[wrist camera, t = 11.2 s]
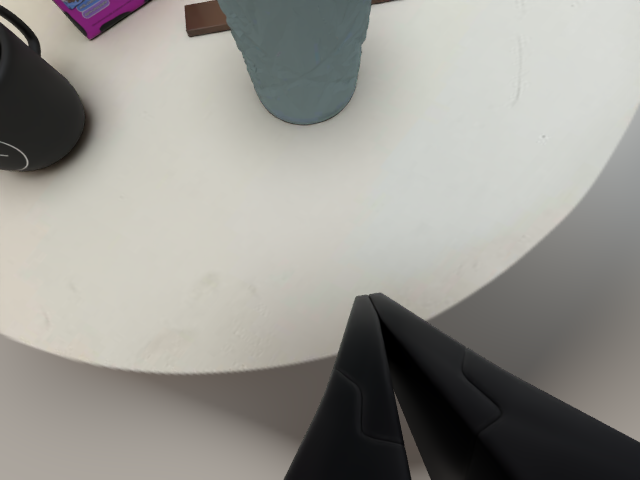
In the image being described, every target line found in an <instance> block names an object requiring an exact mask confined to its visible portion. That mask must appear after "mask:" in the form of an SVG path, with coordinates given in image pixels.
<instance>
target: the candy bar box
mask: <svg viewBox="0 0 640 480" xmlns="http://www.w3.org/2000/svg"><path fill="white" fill-rule="evenodd" d="M52 1H53V2H54V3H55V4H56V5H57V6H58V7H59V8H60V9H61V10H62V11H63V13H64V14H65V15H66V16H67V17H68V18H69V19H70V21H71V22H72V23H73V24H74V25H75V26H76V27H77V28H78V29H79V30H80V31H81V32H82V33H83V34H84V35H85V36H86V37H87V38H88V39H92V38H94V37H96V36H97V35H99V34H100V33H102V32H103V31H105V30H106V29H108V28H109V27H111V26H112V25H114V24H115V23H117V22H118V21H120V20H121V19H123V18H124V17H126V16H127V15H128V14H130V13H132V12H133V11H135V10H136V9H137V8H139V7H140V6H142V5H143V4H145V3H146V2H148V1H149V0H52Z"/></svg>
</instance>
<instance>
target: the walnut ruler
mask: <svg viewBox="0 0 640 480" xmlns="http://www.w3.org/2000/svg"><path fill="white" fill-rule="evenodd" d="M386 1H392V0H371V4H375V3H381V2H386ZM185 18H186V31H187V33H188V35H189V37H191V36H196V35H202V34H208V33H213V32H219V31H224V30H230V29H231V28H230V27H229V26H228V24H227V22H226V18H227V17H226V15H225V14H224V13H223V12H222V10H221V8H220V6H219V3H218V1H217V0H213V1H207V2H202V3H196V4H191V5H185Z"/></svg>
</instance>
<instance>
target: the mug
mask: <svg viewBox="0 0 640 480" xmlns="http://www.w3.org/2000/svg"><path fill="white" fill-rule="evenodd" d="M0 16H2V17H3V18H5V19H6V20H8V21H9V22H10V23H12V24H13V25H14V26H15V27H16V28H17V29H18V30H19V31H20V32H21V33H22V34H23V35H24V36H25V38H26V39H27V41H28V45H29V46H27V45H26V44H25V43H24V42H23V41H22V40H21V39H19V38H18V37H17V36H16V35H15V34H14V33H13V32H11V31H10V30H9V29H8V28H7V27H5V26H4V25H3V24H2V23H1V22H0V169H2V170H9V171H32V170H37V169H41V168H44V167H47V166H49V165H51V164H53V163H55V162H57V161H58V160H60V159H61V158H63V157H64V156H65V155H66V154H67V153H68V152H69V151H70V150H71V149H72V148H73V147H74V146H75V144H76V143H77V141H78V139H79V138H80V136H81V133H82V131H83V127H84V121H85V115H84V109H83V105H82V103H81V100H80V98H79V96H78V94H77V92H76V91H75V89H74V87H73V86H72V85H71V84H70V83H69V81H68V80H67V79H66V78H65V77H63V76H62V75H61V74H60V73H59V72H58V71H56V70H55V69H54V68H53V67H52V66H51V65H49V64H48V63H47V62H46V61H45V60H44V59H43V58H41V49H40V43H39V40H38V38H37V37H36V35H35V34H34V32H33V31H32V30H31V29H30V28H29V27H28V26H27V25H26V24H25V23H24V22H23V21H22V20H21V19H20V18H18V17H17V16H16V15H15V14H13V13H12V12H11V11H9V10H8V9H6V8H4V7H3V6H1V5H0Z"/></svg>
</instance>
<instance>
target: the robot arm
mask: <svg viewBox="0 0 640 480" xmlns="http://www.w3.org/2000/svg"><path fill="white" fill-rule="evenodd" d="M393 389H394V390H393ZM394 392H395V394H396V396H397V399H398V401H399V404H400V406H401V408H402V411H403V413H404V416H405V418H406V421H407V423H408V425H409V428H410V430H411V433H412V435H413V437H414V440H415V442H416V445H417V447H418V449H419V452H420V454H421V457H422V459H423V462H424V464H425V466H426V468H427V471H428V474H429V476H430V478H431V480H640V442H638V441H636V440H634V439H632V438H630V437H629V436H627V435H625V434H623V433H621V432H619V431H617V430H615V429H614V428H611V427H610V426H608V425H606V424H604V423H602V422H600V421H598V420H596V419H595V418H593V417H591V416H589V415H587V414H585V413H583V412H582V411H580V410H578V409H576V408H574V407H572V406H570V405H568V404H566V403H565V402H563V401H561V400H559V399H557V398H555V397H553V396H552V395H549V394H548V393H546V392H544V391H542V390H540V389H538V388H537V387H535V386H533V385H531V384H529V383H527V382H525V381H523V380H521V379H520V378H518V377H516V376H514V375H513V374H510V373H509V372H507V371H505V370H504V369H501V368H500V367H498V366H497V365H495V364H493V363H492V362H490V361H488V360H486V359H485V358H483V357H482V356H480V355H479V354H477V353H475V352H474V351H472V350H471V349H469V348H466V347H465V346H464V345H462V344H460V343H459V342H457V341H456V340H454V339H453V338H451V337H450V336H448V335H447V334H445V333H443V332H442V331H440V330H439V329H437V328H435V327H434V326H432V325H431V324H429V323H428V322H426V321H425V320H423V319H422V318H420V317H418V316H417V315H415V314H414V313H412V312H411V311H409V310H407V309H406V308H404V307H403V306H401V305H400V304H398V303H397V302H395V301H393V300H392V299H390V298H389V297H387V296H386V295H384V294H382V293H374V294H370V295H369V296H368V295H361V296H356V298H355V300H354V303H353V307H352V310H351V313H350V316H349V319H348V323H347V326H346V329H345V332H344V335H343V339H342V342H341V345H340V348H339V351H338V355H337V358H336V361H335V364H334V368H333V370H332V373H331V376H330V379H329V382H328V385H327V388H326V391H325V393H324V396H323V398H322V400H321V403H320V405H319V407H318V410H317V412H316V414H315V416H314V418H313V420H312V422H311V424H310V427H309V429H308V431H307V433H306V435H305V437H304V439H303V441H302V443H301V445H300V447H299V449H298V452H297V454H296V455H295V457H294V460H293V462H292V464H291V466H290V468H289V470H288V472H287V474H286V476H285V478H284V480H411V476H410V470H409V465H408V460H407V455H406V450H405V447H404V441H403V436H402V431H401V425H400V421H399V415H398V410H397V406H396V400H395V395H394Z"/></svg>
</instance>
